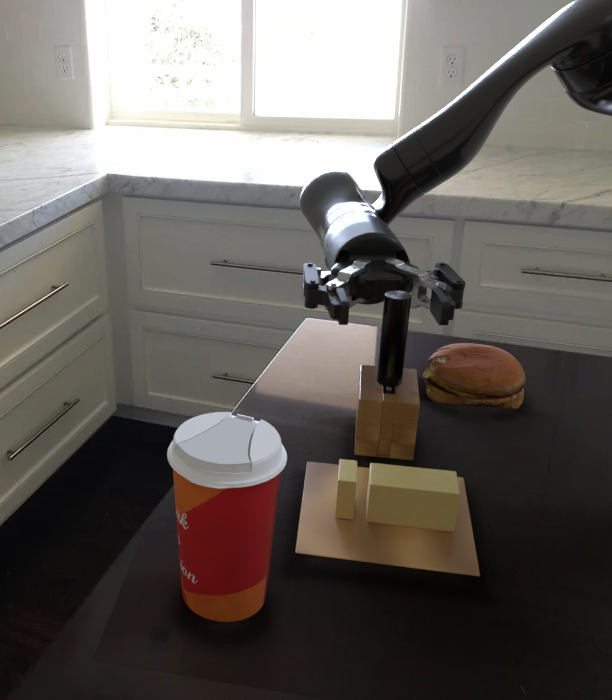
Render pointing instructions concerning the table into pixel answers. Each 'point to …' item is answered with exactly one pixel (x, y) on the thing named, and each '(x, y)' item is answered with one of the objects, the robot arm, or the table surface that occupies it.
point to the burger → (475, 376)
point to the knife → (393, 339)
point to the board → (378, 530)
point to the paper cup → (225, 511)
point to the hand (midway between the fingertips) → (395, 315)
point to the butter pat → (346, 489)
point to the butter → (412, 497)
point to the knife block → (386, 416)
